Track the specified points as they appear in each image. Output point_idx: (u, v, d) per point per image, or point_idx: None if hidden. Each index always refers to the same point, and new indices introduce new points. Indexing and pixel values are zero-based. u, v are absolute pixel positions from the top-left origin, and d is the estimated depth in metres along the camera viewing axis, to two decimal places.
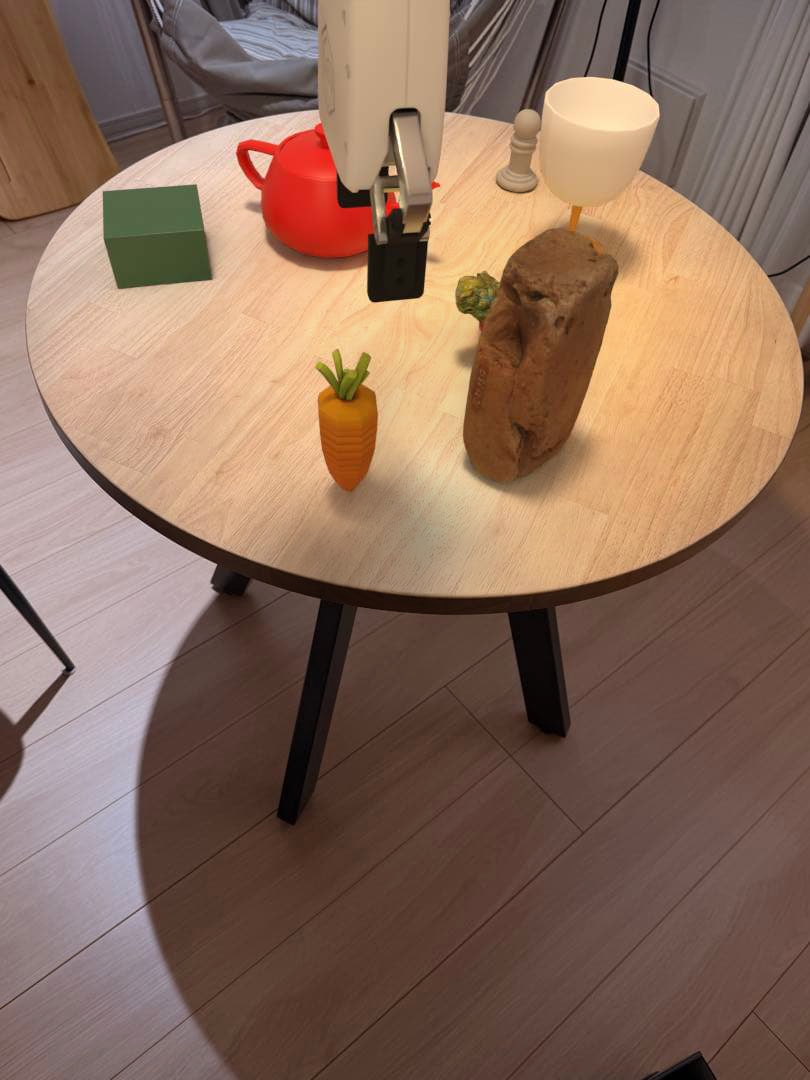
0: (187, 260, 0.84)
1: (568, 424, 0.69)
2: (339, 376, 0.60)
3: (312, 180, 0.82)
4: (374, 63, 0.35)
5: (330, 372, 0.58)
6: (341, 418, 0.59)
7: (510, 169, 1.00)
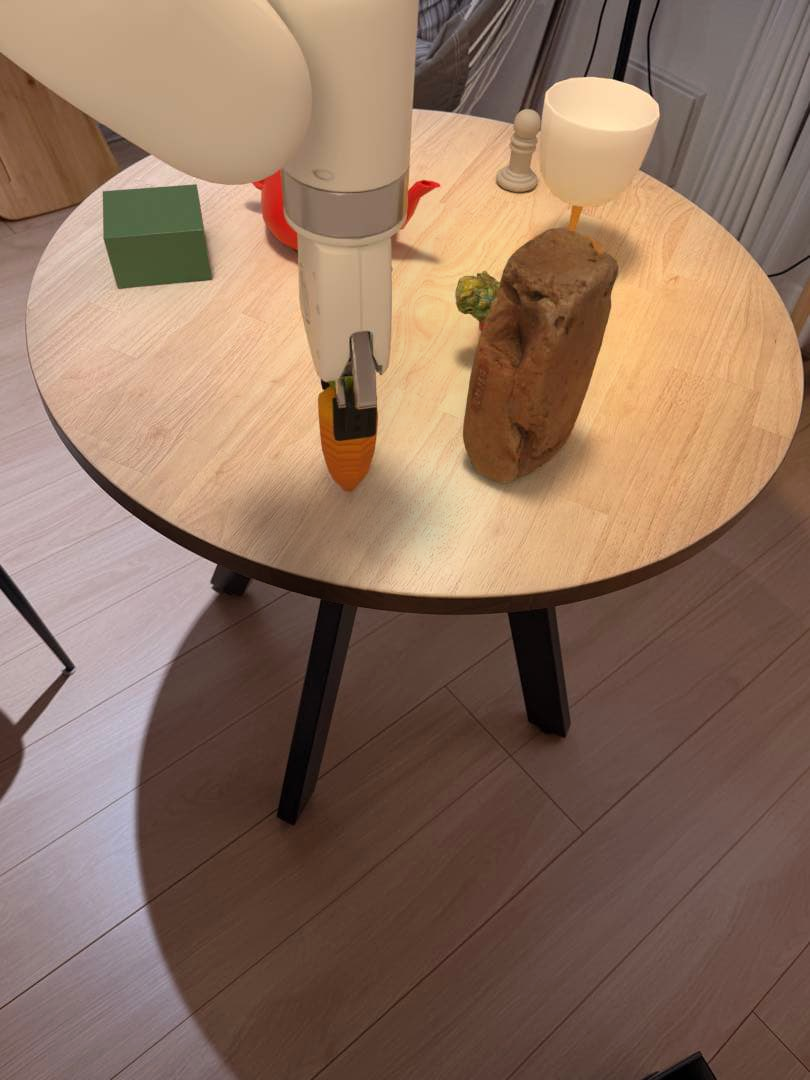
0: (187, 260, 0.84)
1: (568, 424, 0.69)
2: None
3: None
4: (336, 307, 0.48)
5: None
6: None
7: (510, 169, 1.00)
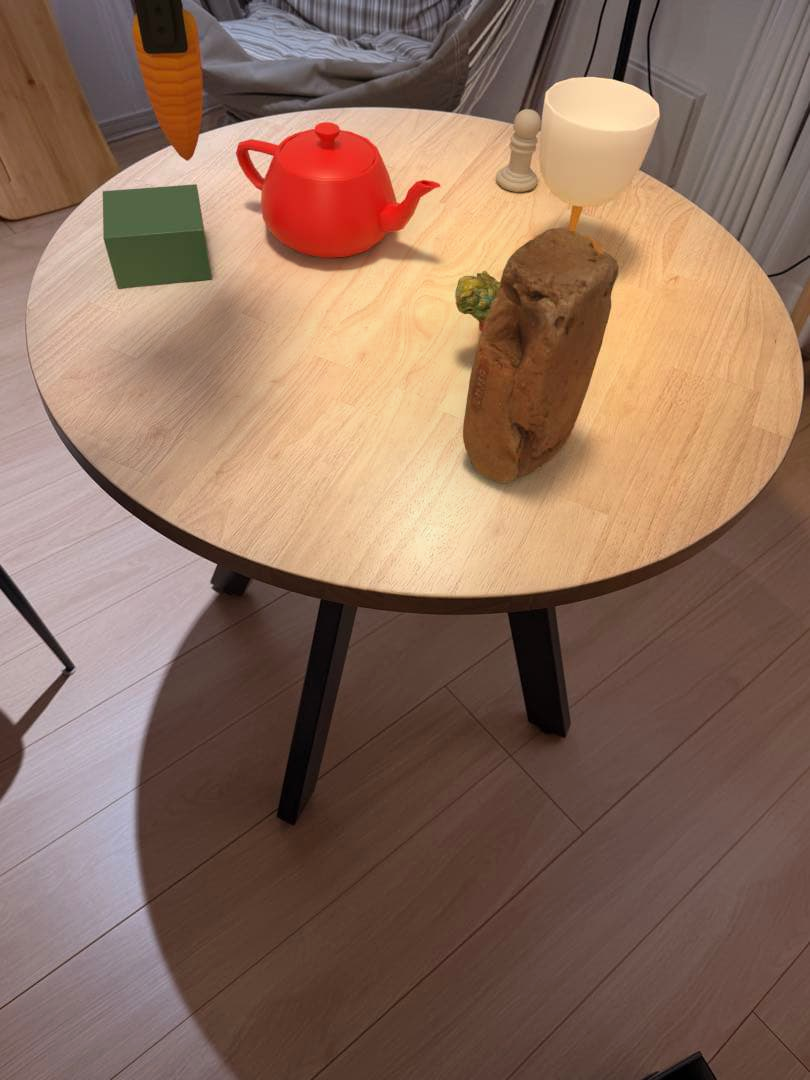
0: (187, 260, 0.84)
1: (568, 424, 0.69)
2: None
3: (312, 180, 0.82)
4: None
5: None
6: None
7: (510, 169, 1.00)
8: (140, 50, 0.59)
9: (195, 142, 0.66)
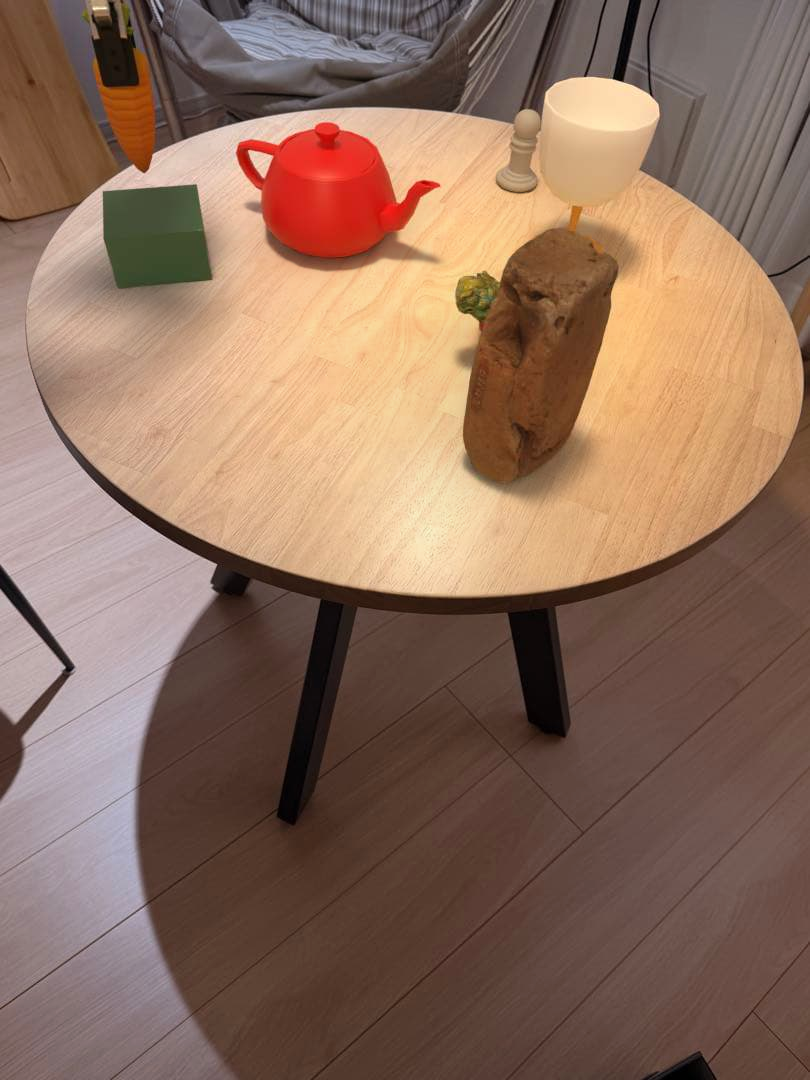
0: (187, 260, 0.84)
1: (568, 424, 0.69)
2: None
3: (312, 180, 0.82)
4: None
5: None
6: None
7: (510, 169, 1.00)
8: (100, 83, 0.72)
9: (150, 158, 0.78)
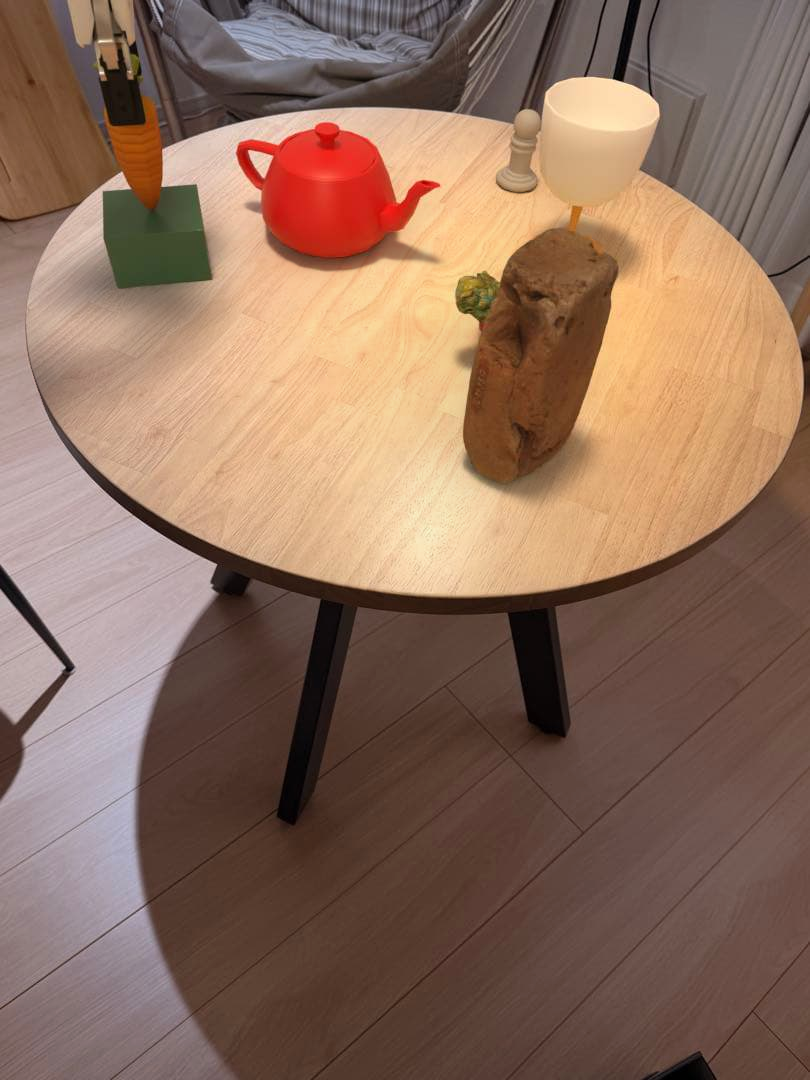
0: (187, 260, 0.84)
1: (568, 424, 0.69)
2: None
3: (312, 180, 0.82)
4: None
5: None
6: None
7: (510, 169, 1.00)
8: (111, 129, 0.75)
9: (157, 196, 0.81)
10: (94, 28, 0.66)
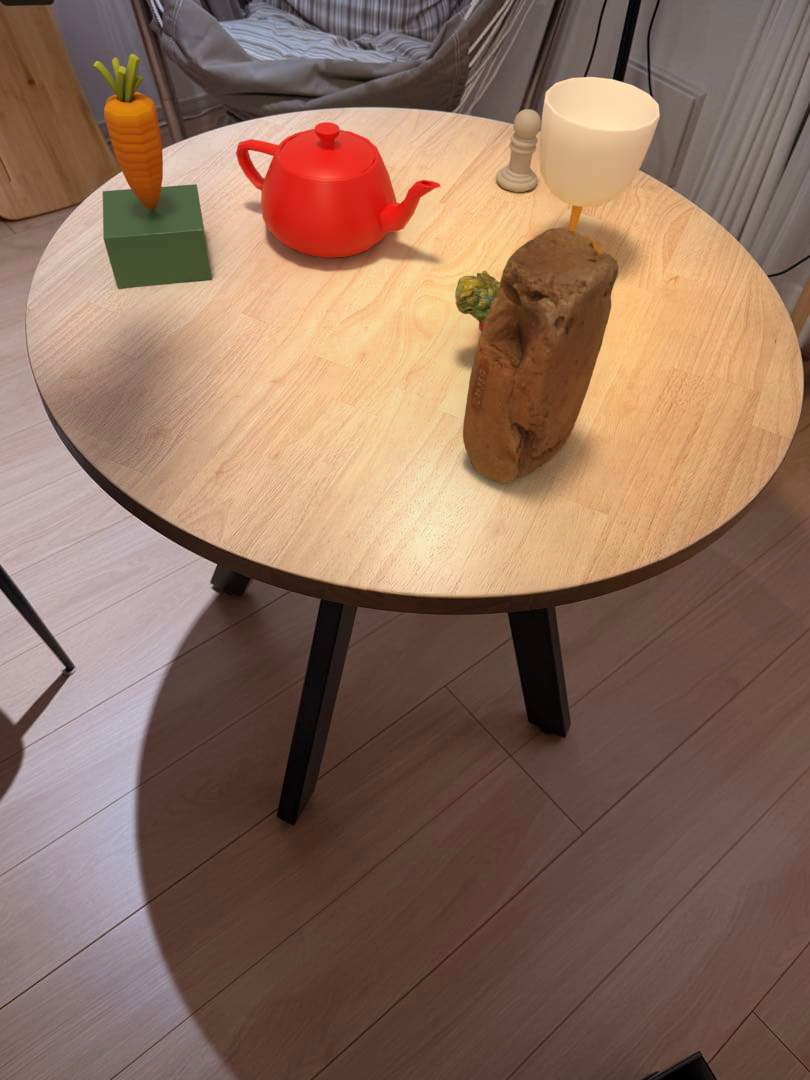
0: (187, 260, 0.84)
1: (568, 424, 0.69)
2: None
3: (312, 180, 0.82)
4: None
5: (106, 71, 0.72)
6: (119, 114, 0.73)
7: (510, 169, 1.00)
8: (111, 129, 0.75)
9: (157, 196, 0.81)
10: None
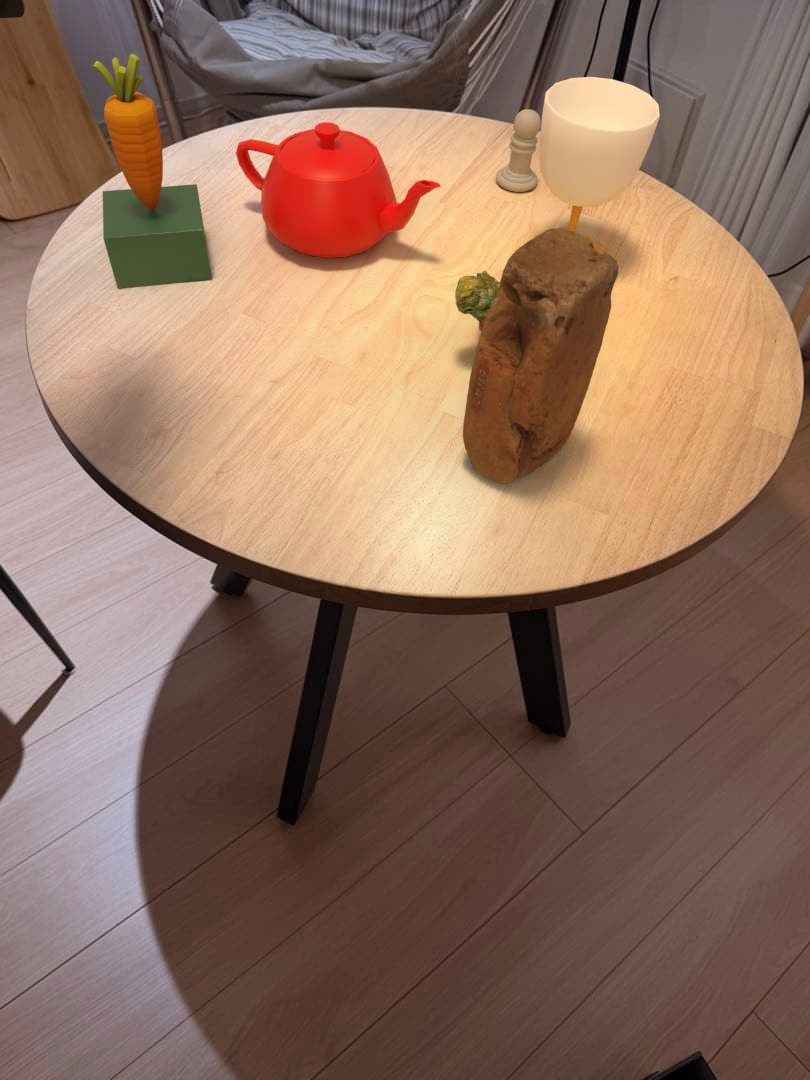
0: (187, 260, 0.84)
1: (568, 424, 0.69)
2: None
3: (312, 180, 0.82)
4: None
5: (106, 71, 0.72)
6: (119, 114, 0.73)
7: (510, 169, 1.00)
8: (111, 129, 0.75)
9: (157, 196, 0.81)
10: None
